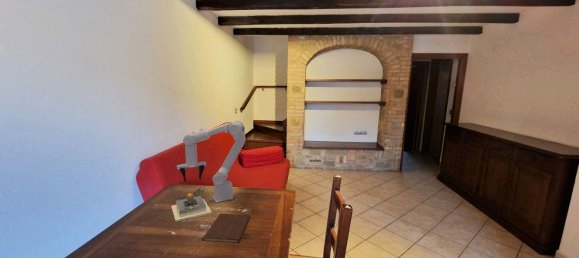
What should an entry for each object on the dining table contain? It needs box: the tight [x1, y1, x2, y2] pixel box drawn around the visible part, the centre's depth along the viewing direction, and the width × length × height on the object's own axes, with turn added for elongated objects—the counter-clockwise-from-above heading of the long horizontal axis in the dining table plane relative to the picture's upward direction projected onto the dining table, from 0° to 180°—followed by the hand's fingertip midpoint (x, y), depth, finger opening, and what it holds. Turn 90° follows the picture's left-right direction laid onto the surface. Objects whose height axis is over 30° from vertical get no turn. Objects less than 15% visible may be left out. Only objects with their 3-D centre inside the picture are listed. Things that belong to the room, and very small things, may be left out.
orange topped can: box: [186, 191, 195, 205], centre depth 125 cm, size 3×3×8 cm
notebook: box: [201, 213, 251, 244], centre depth 111 cm, size 15×20×2 cm
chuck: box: [175, 195, 206, 217], centre depth 125 cm, size 12×12×3 cm
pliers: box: [175, 187, 206, 203], centre depth 143 cm, size 10×1×20 cm
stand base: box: [171, 198, 212, 223], centre depth 126 cm, size 16×16×1 cm
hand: (192, 180), depth 138 cm, fingers open, 7 cm apart
